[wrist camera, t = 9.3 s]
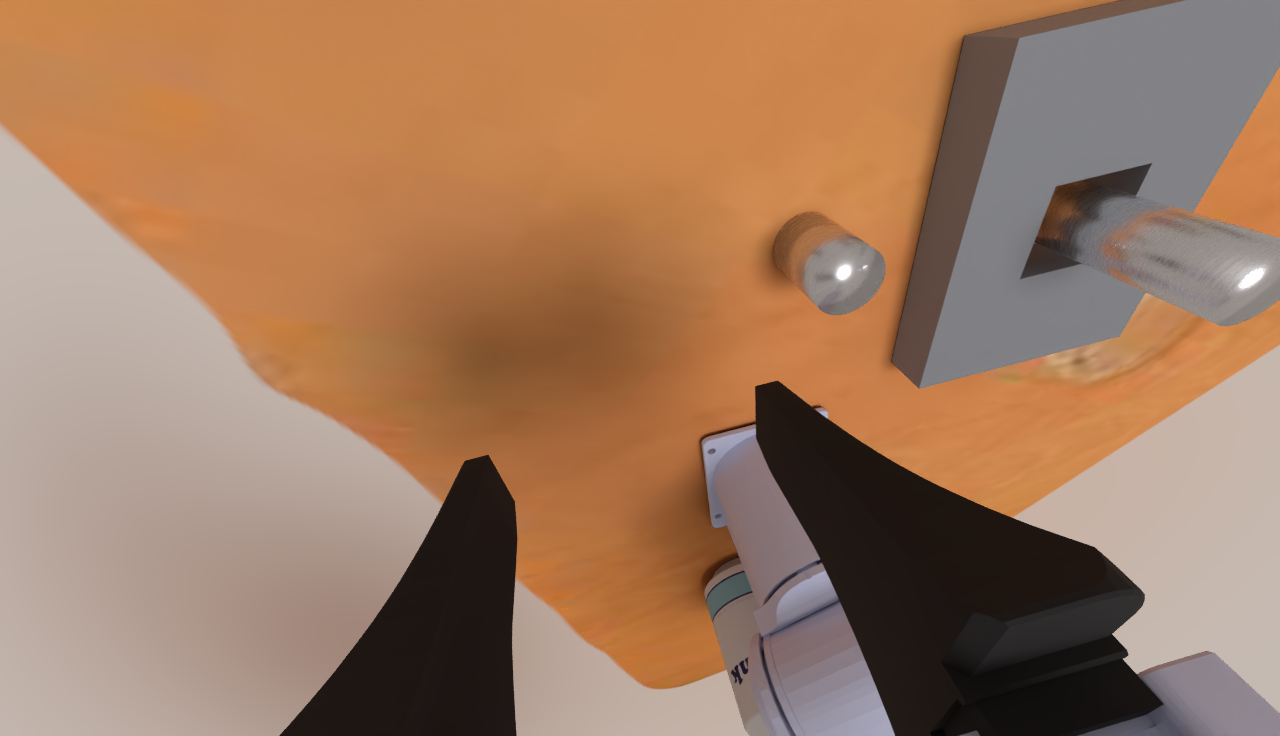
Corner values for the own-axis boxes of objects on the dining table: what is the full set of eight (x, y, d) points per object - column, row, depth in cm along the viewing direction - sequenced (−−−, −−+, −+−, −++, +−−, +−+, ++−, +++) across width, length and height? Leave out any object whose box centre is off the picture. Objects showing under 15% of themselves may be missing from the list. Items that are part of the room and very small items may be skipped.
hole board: (1078, 314, 28) (1119, 336, 26) (891, 362, 28) (919, 388, 26) (1252, -30, 18) (1339, -35, 16) (964, 35, 18) (1019, 38, 16)
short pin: (830, 265, 23) (879, 305, 20) (772, 280, 23) (811, 322, 19) (836, 204, 21) (891, 238, 18) (772, 220, 21) (816, 256, 18)
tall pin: (1054, 224, 24) (1276, 312, 17) (998, 240, 24) (1196, 335, 17) (1075, 164, 22) (1335, 234, 15) (1015, 181, 22) (1247, 261, 15)
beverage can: (754, 538, 37) (832, 717, 27) (791, 565, 41) (870, 731, 31) (685, 578, 38) (735, 760, 29) (726, 601, 42) (782, 768, 33)
